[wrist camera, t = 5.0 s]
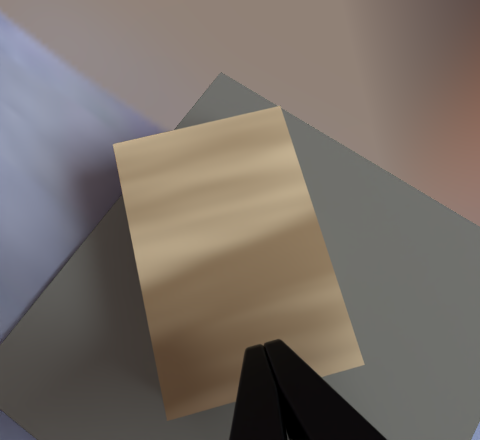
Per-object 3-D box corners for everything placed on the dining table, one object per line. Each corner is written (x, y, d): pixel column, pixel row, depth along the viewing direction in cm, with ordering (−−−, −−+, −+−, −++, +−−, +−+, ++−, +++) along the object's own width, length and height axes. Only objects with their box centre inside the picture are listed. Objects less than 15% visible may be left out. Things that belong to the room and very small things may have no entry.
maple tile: (364, 364, 12) (280, 105, 15) (167, 420, 12) (113, 144, 14) (339, 359, 16) (272, 146, 18) (181, 404, 15) (135, 179, 18)
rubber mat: (544, 271, 17) (551, 269, 17) (345, 686, 13) (348, 697, 13) (221, 77, 19) (221, 71, 19) (-25, 382, 16) (-31, 383, 15)
